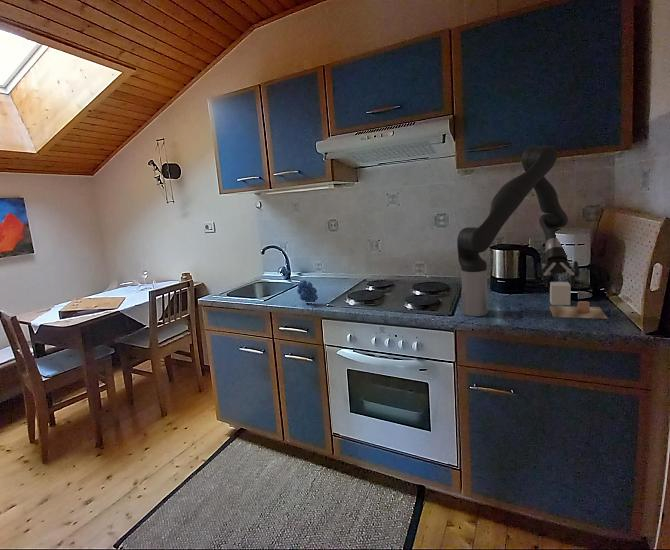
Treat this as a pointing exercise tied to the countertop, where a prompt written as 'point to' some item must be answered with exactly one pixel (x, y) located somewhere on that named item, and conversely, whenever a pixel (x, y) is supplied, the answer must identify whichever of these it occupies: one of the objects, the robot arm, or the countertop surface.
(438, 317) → the countertop surface
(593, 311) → the board
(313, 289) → the grapes
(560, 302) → the light grey cuboid block
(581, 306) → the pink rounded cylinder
